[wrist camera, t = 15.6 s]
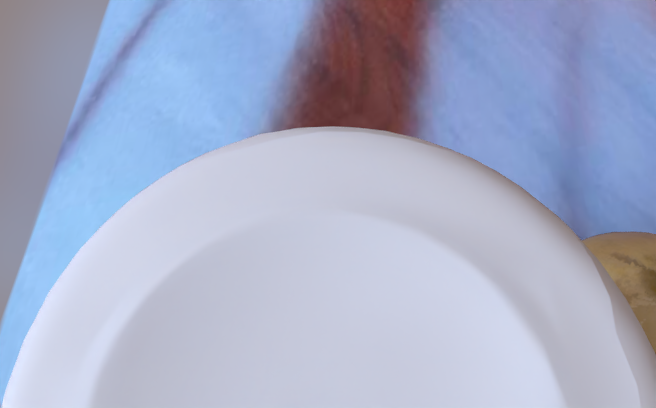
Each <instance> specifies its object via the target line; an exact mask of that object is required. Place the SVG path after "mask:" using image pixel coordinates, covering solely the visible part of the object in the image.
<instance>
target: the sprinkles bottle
mask: <svg viewBox="0 0 656 408" xmlns="http://www.w3.org/2000/svg"><path fill="white" fill-rule="evenodd" d="M2 408H656V354H655V352H654V350H653V348H652V346H651V344H650V342H649V340H648V338H647V336H646V334H645V332H644V330H643V328H642V327H641V325H640V323H639V321H638V319H637V318H636V316H635V314H634V312H633V310H632V309H631V307H630V305H629V303H628V301H627V300H626V298H625V297H624V295H623V294H622V292H621V291H620V289H619V288H618V287H617V285H616V284H615V282H614V281H613V280H612V278H611V277H610V275H609V274H608V272H607V271H606V270H605V268H604V267H603V265H602V264H601V263H600V261H599V260H598V259H597V258H596V257H595V256H594V254H593V253H592V252H591V251H590V250H589V249H588V248H587V247H586V245H585V244H584V243H583V242H582V241H581V240H580V239H579V237H578V236H577V235H576V234H575V233H574V232H573V231H572V230H571V229H570V228H569V227H568V226H567V225H566V224H565V223H564V222H563V221H562V220H561V219H560V218H559V217H558V216H557V215H556V214H554V213H553V212H552V211H551V210H549V209H548V208H547V207H546V206H544V205H543V204H542V203H540V202H539V201H538V200H537V199H535V198H534V197H533V196H532V195H530V194H529V193H528V192H527V191H525V190H524V189H523V188H522V187H520V186H519V185H517V184H516V183H514V182H512V181H511V180H509V179H508V178H506V177H505V176H503V175H502V174H500V173H498V172H497V171H495V170H493V169H491V168H489V167H488V166H486V165H484V164H482V163H480V162H478V161H476V160H474V159H473V158H470V157H468V156H465V155H463V154H460V153H458V152H455V151H453V150H451V149H448V148H445V147H442V146H439V145H436V144H434V143H431V142H428V141H425V140H422V139H419V138H414V137H410V136H405V135H401V134H396V133H392V132H387V131H382V130H373V129H364V128H354V127H309V128H295V129H290V130H284V131H278V132H271V133H264V134H259V135H256V136H253V137H249V138H247V139H244V140H241V141H238V142H235V143H232V144H229V145H227V146H224V147H221V148H218V149H216V150H213V151H210V152H208V153H205V154H203V155H201V156H199V157H197V158H195V159H193V160H191V161H189V162H187V163H185V164H183V165H181V166H179V167H178V168H176V169H174V170H173V171H171V172H169V173H168V174H166V175H164V176H163V177H161V178H160V179H158V180H157V181H155V182H154V183H152V184H151V185H150V186H148V187H147V188H145V189H144V190H142V191H141V192H139V193H138V194H137V195H136V196H135V197H133V198H132V199H131V200H130V201H128V202H127V203H126V204H125V205H123V206H122V207H121V208H120V209H119V210H118V211H117V212H116V213H115V214H114V215H113V216H112V217H110V218H109V219H108V220H107V221H106V222H105V223H104V224H103V225H102V226H101V227H100V228H99V229H98V230H97V231H96V232H95V234H94V235H93V236H92V237H91V238H90V239H89V240H88V241H87V242H86V243H85V244H84V245H83V246H82V248H81V249H80V250H79V251H78V252H77V254H76V255H75V256H74V258H73V259H72V260H71V262H70V263H69V265H68V266H67V267H66V269H65V270H64V272H63V273H62V274H61V276H60V277H59V279H58V280H57V281H56V283H55V284H54V286H53V287H52V289H51V290H50V291H49V293H48V295H47V297H46V299H45V301H44V303H43V305H42V307H41V309H40V310H39V312H38V314H37V316H36V318H35V320H34V322H33V324H32V326H31V328H30V330H29V331H28V333H27V335H26V337H25V339H24V341H23V344H22V347H21V350H20V352H19V355H18V358H17V361H16V363H15V366H14V369H13V371H12V374H11V377H10V380H9V382H8V385H7V388H6V391H5V395H4V399H3V404H2Z"/></svg>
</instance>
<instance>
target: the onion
mask: <svg viewBox="0 0 656 408" xmlns="http://www.w3.org/2000/svg"><path fill="white" fill-rule="evenodd" d="M582 242H583V243H584V244H585V245H586V247H587V248H588V249H589V250H590V251H591V252H592V253H593V254H594V256H595V257H596V258H597V259H598V260H599V261H600V263H601V264H602V265H603V267H604V268H605V270H606V271H607V272H608V274H609V275H610V277H611V278H612V280H613V281H614V282H615V284H616V285H617V287H618V288H619V289H620V291H621V292H622V294H623V295H624V297H625V298H626V300H627V301H628V303H629V305H630V307H631V309H632V310H633V312H634V314H635V316H636V318H637V319H638V321H639V323H640V325H641V327H642V328H643V330H644V332H645V334H646V336H647V338H648V340H649V342H650V344H651V346H652V348H653V350H654V352H655V354H656V234H652V233H646V232H611V233H605V234H600V235H596V236H592V237H589V238H587V239H585V240H582Z"/></svg>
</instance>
